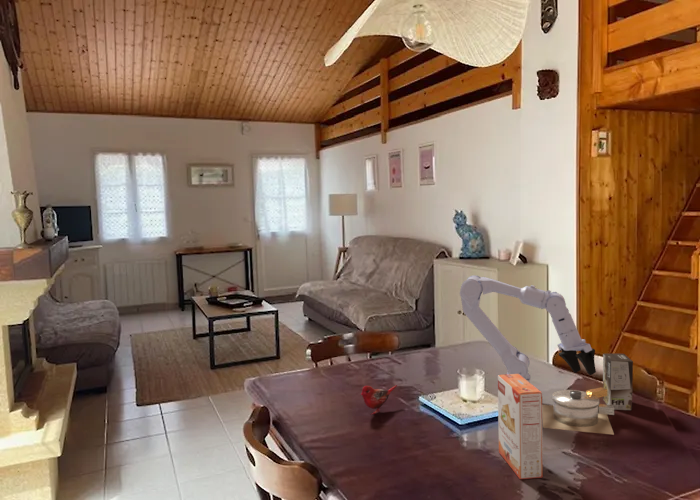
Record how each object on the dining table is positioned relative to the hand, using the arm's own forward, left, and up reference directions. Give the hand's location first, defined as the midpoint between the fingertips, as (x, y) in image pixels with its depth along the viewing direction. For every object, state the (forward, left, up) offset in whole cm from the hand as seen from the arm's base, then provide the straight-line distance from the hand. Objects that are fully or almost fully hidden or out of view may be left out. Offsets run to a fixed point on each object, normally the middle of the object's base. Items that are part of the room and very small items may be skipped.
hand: (584, 372), depth 165 cm
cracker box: (-18, -41, -12) cm, 47 cm away
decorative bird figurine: (-60, -16, -12) cm, 64 cm away
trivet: (-3, -10, -12) cm, 16 cm away
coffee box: (+10, +5, -12) cm, 16 cm away
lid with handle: (-2, -9, -5) cm, 10 cm away
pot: (-1, -10, -11) cm, 15 cm away
